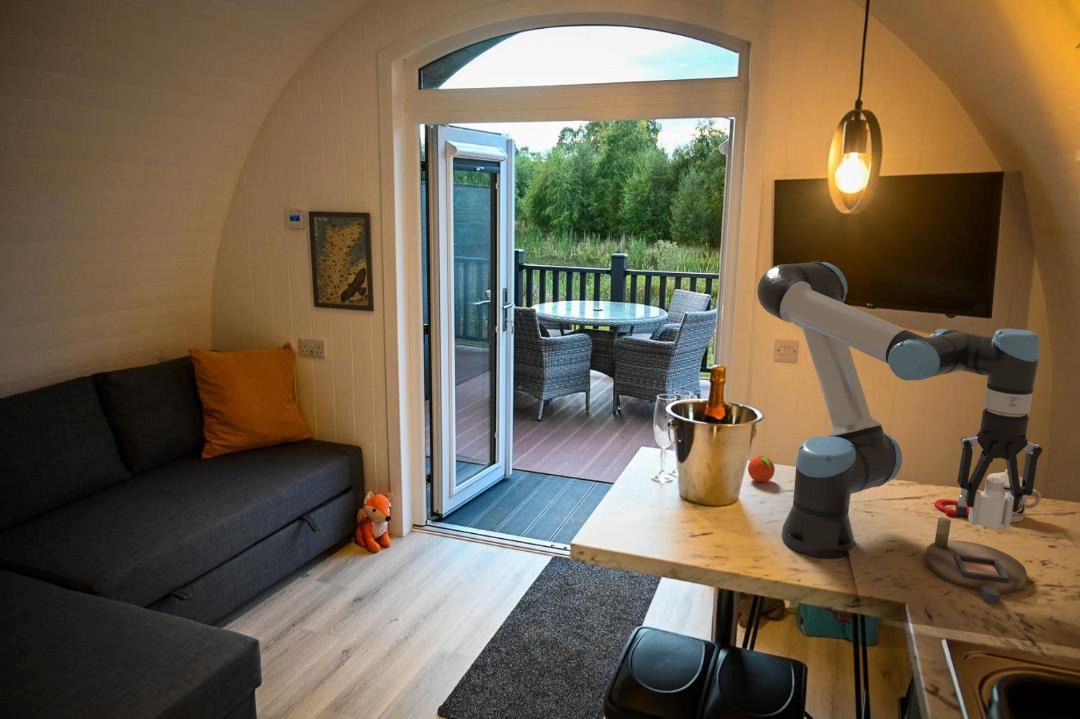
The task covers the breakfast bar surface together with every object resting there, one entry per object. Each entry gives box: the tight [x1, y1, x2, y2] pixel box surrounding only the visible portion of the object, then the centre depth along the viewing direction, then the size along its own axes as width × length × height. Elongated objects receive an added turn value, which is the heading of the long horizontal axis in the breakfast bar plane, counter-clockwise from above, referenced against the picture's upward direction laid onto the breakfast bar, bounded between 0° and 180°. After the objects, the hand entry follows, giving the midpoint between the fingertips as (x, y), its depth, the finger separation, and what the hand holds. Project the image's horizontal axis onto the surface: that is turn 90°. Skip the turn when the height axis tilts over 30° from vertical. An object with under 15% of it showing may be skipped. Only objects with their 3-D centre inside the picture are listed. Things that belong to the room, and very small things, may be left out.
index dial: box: [924, 516, 1027, 594], centre depth 155 cm, size 18×18×8 cm
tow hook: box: [934, 487, 970, 518], centre depth 185 cm, size 8×13×9 cm
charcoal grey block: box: [979, 586, 1001, 605], centre depth 145 cm, size 2×3×3 cm
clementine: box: [747, 455, 776, 483], centre depth 202 cm, size 8×7×7 cm
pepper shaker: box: [976, 476, 1006, 530], centre depth 148 cm, size 4×4×10 cm
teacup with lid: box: [986, 468, 1042, 523], centre depth 182 cm, size 12×9×12 cm
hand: (988, 523), depth 149 cm, fingers closed on pepper shaker, 5 cm apart
